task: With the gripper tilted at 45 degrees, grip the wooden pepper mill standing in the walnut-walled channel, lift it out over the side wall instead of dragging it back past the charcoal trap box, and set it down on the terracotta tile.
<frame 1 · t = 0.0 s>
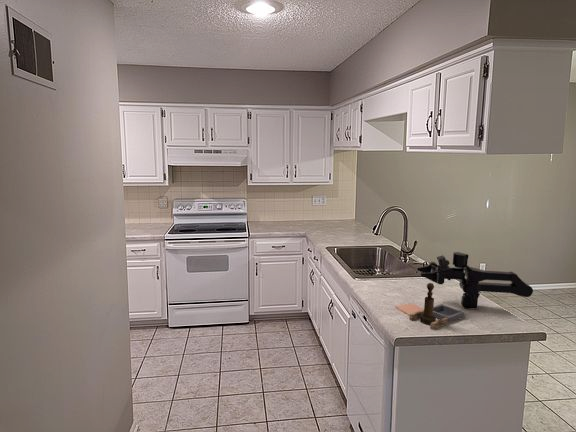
hand: (419, 271, 206), 17 cm above the counter, tool horizontal, fingers open, 9 cm apart
terracotta tile: (411, 309, 200), on the counter
walnut channel: (428, 321, 187), on the counter
wooden pepper mill: (427, 322, 187), on the counter
charcoal trap box: (444, 315, 194), on the counter
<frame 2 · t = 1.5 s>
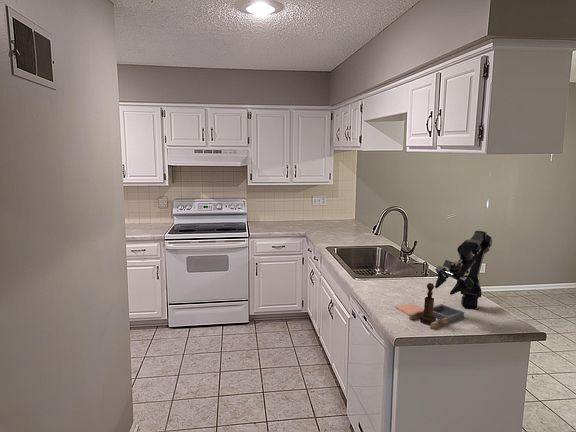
hand: (442, 290, 187), 14 cm above the counter, tool tilted 45°, fingers open, 9 cm apart
nothing on the counter moved.
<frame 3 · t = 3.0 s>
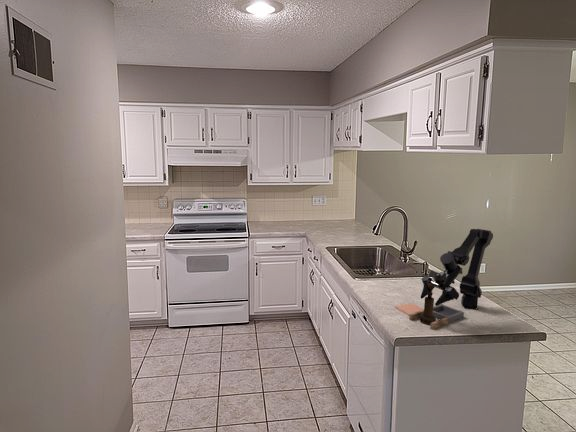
hand: (428, 301, 185), 10 cm above the counter, tool tilted 45°, fingers open, 9 cm apart
nothing on the counter moved.
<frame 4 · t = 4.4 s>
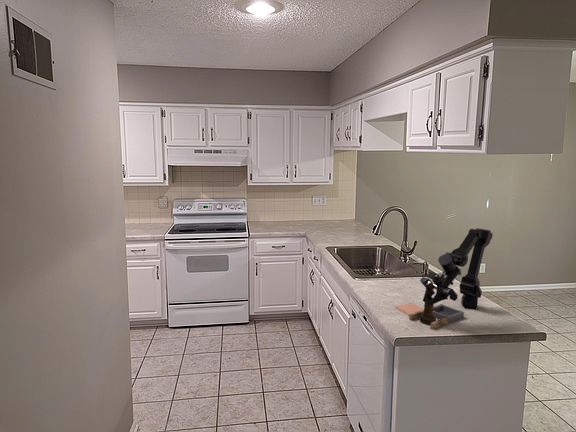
hand: (426, 302, 185), 9 cm above the counter, tool tilted 45°, fingers closed on wooden pepper mill, 4 cm apart
wooden pepper mill: (427, 322, 187), on the counter, touching gripper
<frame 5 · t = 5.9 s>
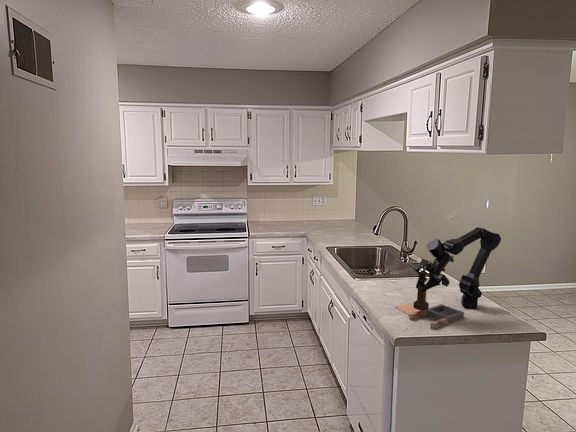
hand: (419, 289, 190), 13 cm above the counter, tool tilted 45°, fingers closed on wooden pepper mill, 4 cm apart
wooden pepper mill: (420, 308, 192), point 4 cm above the counter, touching gripper
when the fingers open (11 cm above the counter, at t = 7.6 s): wooden pepper mill drops 1 cm, resting on terracotta tile.
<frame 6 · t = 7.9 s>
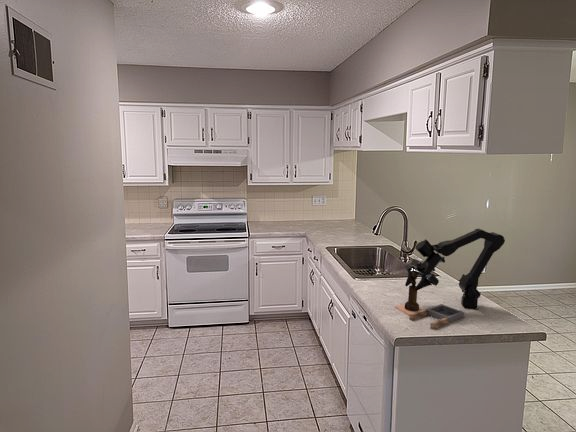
hand: (410, 288, 198), 11 cm above the counter, tool tilted 45°, fingers open, 6 cm apart
wooden pepper mill: (411, 309, 200), resting on terracotta tile
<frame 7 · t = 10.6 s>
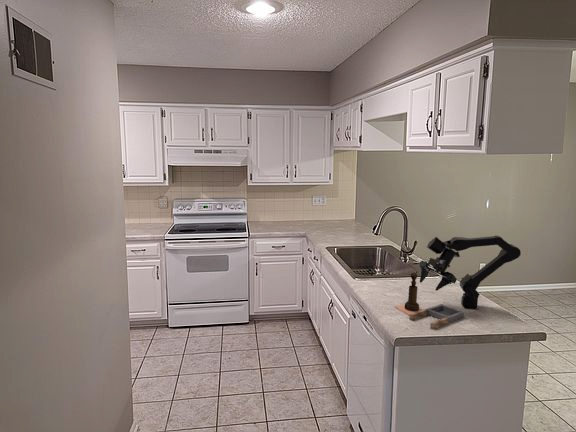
hand: (427, 286, 201), 11 cm above the counter, tool tilted 40°, fingers open, 9 cm apart
nothing on the counter moved.
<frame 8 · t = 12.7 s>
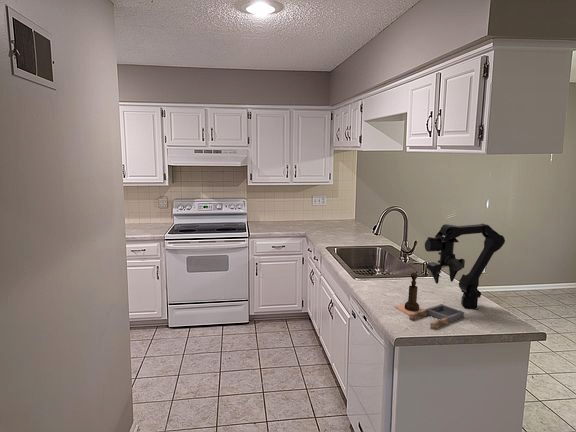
hand: (444, 282, 201), 13 cm above the counter, tool pointing down, fingers open, 9 cm apart
nothing on the counter moved.
at the end: wooden pepper mill inside the target area on the terracotta tile (0.2 cm from its centre), point 0.4 cm above the terracotta tile's base; wooden pepper mill tilted 0°; the gripper is holding nothing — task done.
